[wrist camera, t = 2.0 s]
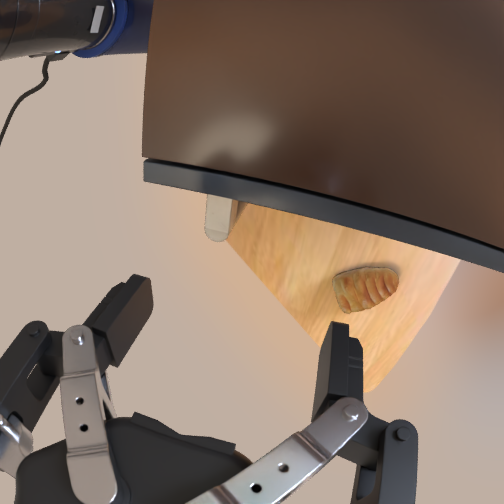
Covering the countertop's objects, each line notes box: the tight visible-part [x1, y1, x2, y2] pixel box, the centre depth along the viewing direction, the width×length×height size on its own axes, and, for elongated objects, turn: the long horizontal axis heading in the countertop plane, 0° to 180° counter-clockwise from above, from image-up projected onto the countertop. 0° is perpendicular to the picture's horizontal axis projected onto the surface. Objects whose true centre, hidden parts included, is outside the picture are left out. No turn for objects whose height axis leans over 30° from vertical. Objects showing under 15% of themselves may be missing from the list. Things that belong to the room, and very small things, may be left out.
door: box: [144, 158, 504, 273], centre depth 26 cm, size 7×26×24 cm, turn 82°
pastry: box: [332, 267, 399, 314], centre depth 43 cm, size 9×7×4 cm
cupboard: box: [142, 0, 504, 249], centre depth 19 cm, size 18×26×24 cm
